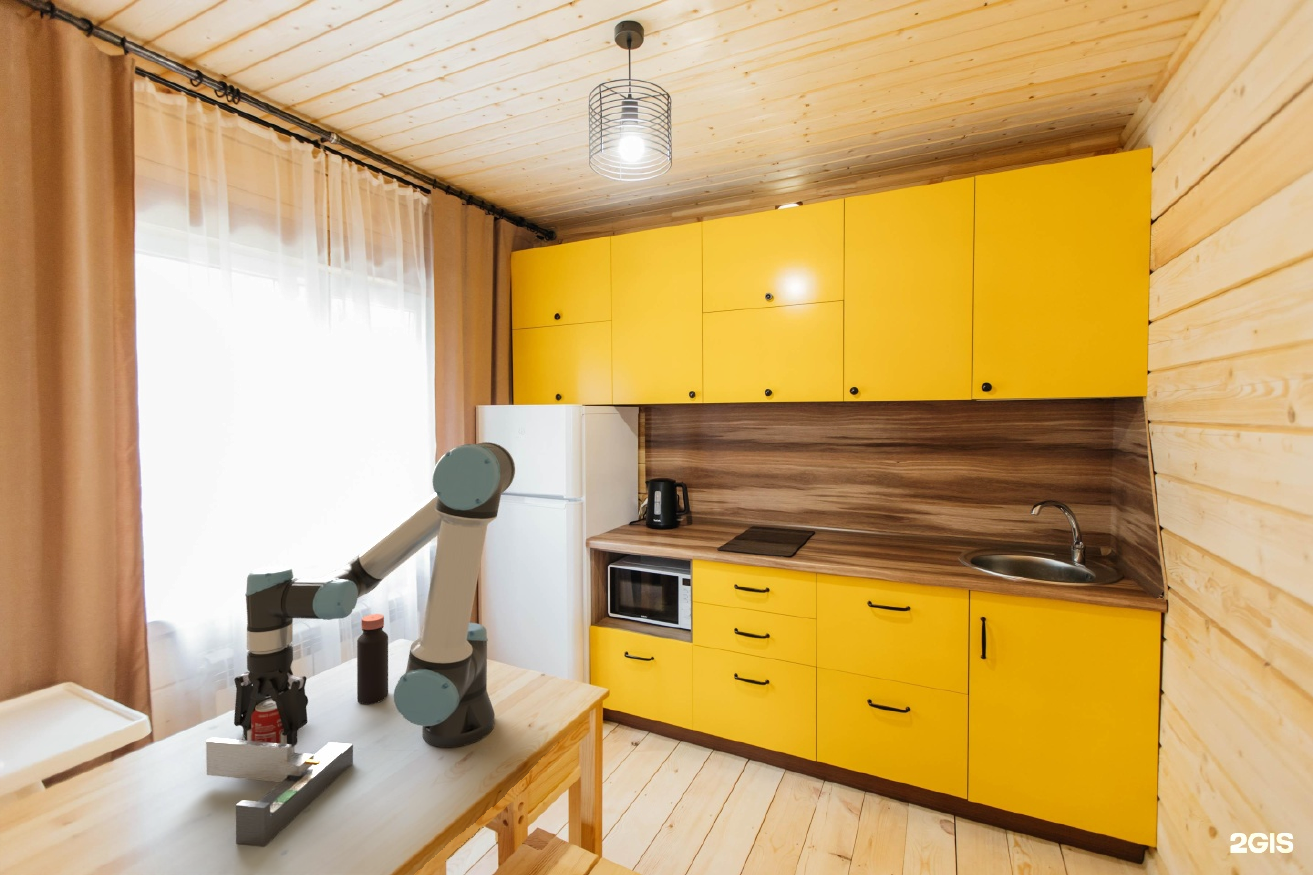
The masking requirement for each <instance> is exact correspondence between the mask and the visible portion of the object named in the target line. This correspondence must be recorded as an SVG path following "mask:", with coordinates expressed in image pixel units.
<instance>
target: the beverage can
mask: <svg viewBox="0 0 1313 875" xmlns="http://www.w3.org/2000/svg"><path fill="white" fill-rule="evenodd" d="M283 732H284V728H283V725H282V721H281V718H280V715H279V712H278V709H277V706H276V703H275V701H273V700H272V699H268V700H265V701H262V702H261V703H259V704H258V705H256V707H255V711H254V712H253V713H252V715H251V737H252V741H257V742H269V743H281V733H283Z"/></svg>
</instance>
